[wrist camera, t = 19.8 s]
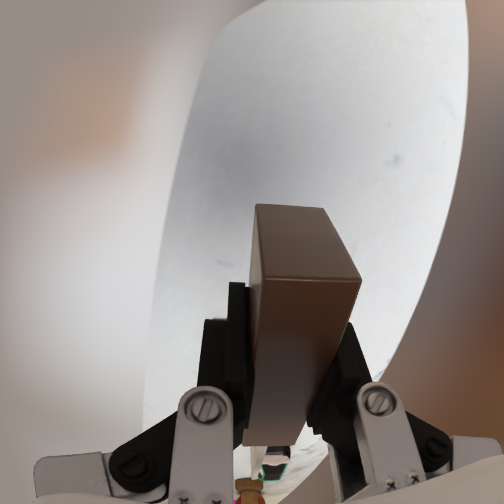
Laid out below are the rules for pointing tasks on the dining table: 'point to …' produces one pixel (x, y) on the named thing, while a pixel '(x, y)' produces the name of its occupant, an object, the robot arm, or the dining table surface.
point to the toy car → (274, 465)
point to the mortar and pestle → (249, 490)
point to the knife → (293, 318)
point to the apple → (260, 500)
